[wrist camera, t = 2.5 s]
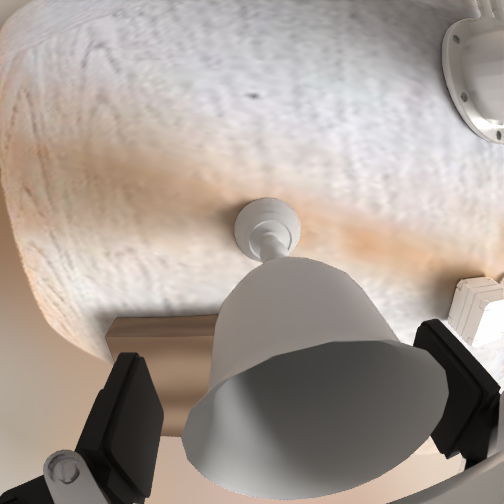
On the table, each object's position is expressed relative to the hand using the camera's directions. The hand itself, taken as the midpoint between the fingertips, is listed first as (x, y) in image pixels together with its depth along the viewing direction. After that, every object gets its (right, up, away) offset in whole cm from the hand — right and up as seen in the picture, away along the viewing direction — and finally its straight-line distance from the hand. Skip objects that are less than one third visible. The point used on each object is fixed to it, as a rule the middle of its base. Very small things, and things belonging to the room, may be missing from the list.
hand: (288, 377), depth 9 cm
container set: (+29, 0, +18) cm, 34 cm away
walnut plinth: (-6, -8, +19) cm, 21 cm away
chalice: (0, +6, +14) cm, 15 cm away
